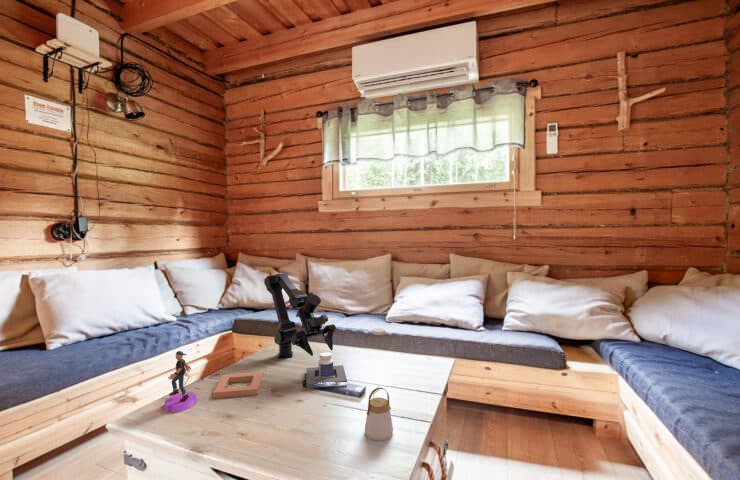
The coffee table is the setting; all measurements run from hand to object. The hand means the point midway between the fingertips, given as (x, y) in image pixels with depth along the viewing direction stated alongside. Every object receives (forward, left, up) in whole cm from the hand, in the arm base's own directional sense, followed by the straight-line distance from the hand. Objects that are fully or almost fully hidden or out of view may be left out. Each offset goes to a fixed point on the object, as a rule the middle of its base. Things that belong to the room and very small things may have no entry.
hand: (322, 352), depth 139 cm
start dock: (+2, +1, -10) cm, 10 cm away
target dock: (+3, -31, -10) cm, 32 cm away
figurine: (+13, -48, -10) cm, 51 cm away
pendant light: (+41, +14, -10) cm, 45 cm away
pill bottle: (+2, +1, -10) cm, 10 cm away
